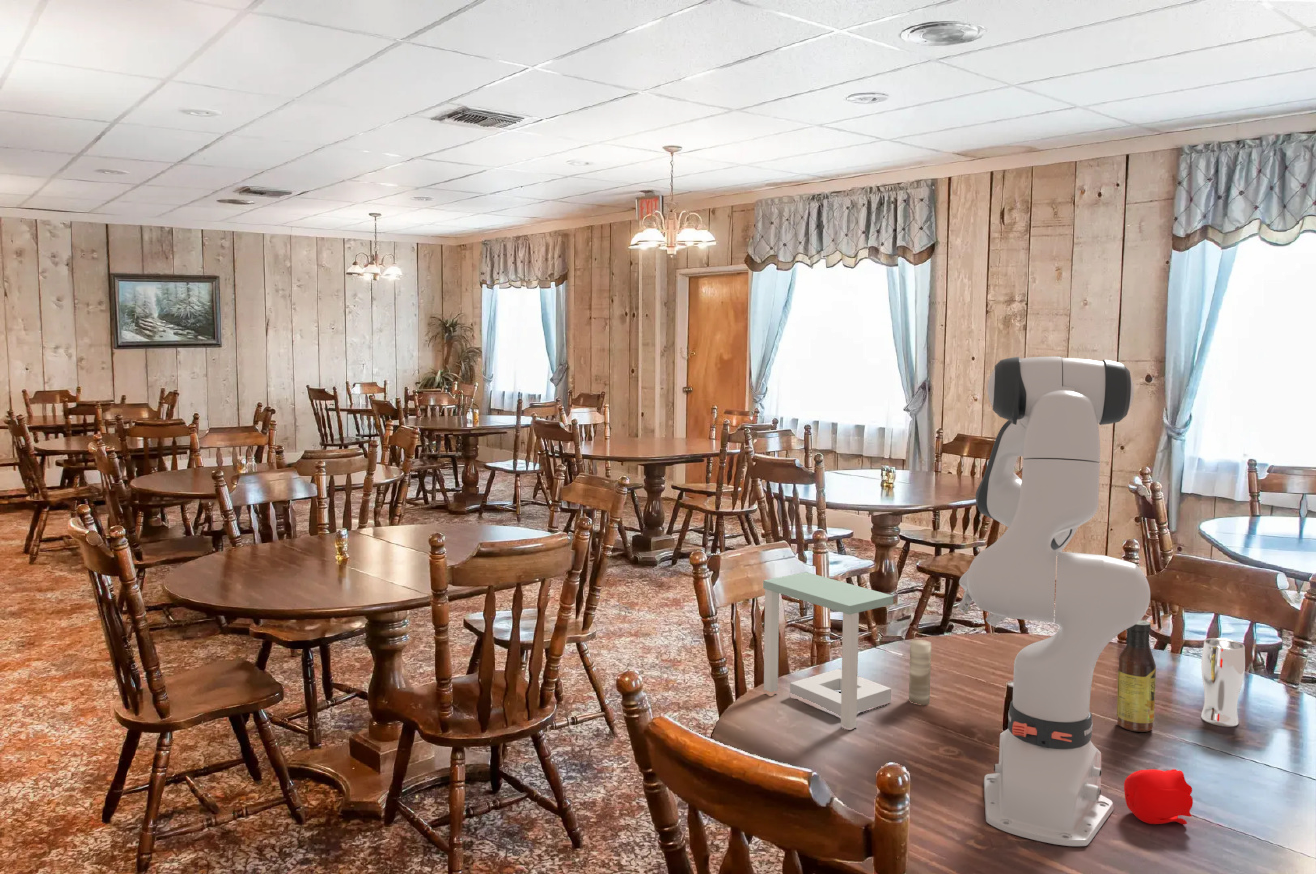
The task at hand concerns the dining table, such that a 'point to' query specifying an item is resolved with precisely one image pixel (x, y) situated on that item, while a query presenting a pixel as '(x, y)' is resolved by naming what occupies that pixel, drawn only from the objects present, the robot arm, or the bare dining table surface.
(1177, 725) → the dining table surface
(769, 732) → the dining table surface
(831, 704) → the socket plate
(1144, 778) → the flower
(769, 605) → the small side table
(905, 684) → the dining table surface
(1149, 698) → the sauce bottle
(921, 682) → the birch peg
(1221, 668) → the beer glass
